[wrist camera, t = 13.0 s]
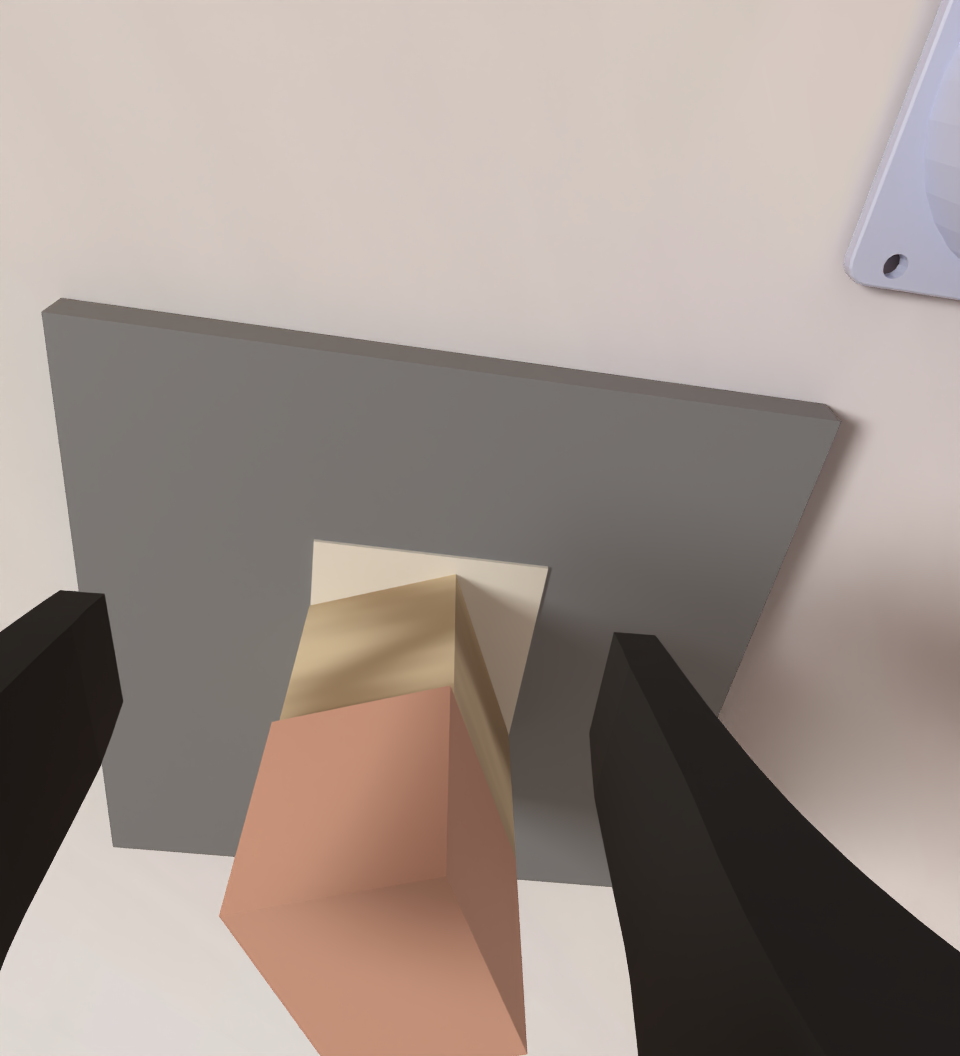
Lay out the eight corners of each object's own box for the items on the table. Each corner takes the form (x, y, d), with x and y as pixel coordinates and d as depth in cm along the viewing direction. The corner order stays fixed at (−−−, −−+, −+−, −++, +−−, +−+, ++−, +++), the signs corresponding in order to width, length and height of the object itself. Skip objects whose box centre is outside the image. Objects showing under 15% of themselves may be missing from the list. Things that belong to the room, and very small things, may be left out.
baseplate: (825, 404, 20) (842, 423, 19) (640, 864, 30) (645, 892, 29) (61, 298, 18) (39, 313, 18) (123, 821, 28) (111, 849, 27)
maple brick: (455, 574, 21) (453, 697, 17) (508, 734, 24) (516, 868, 21) (309, 605, 22) (276, 732, 18) (379, 758, 25) (363, 893, 21)
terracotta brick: (450, 685, 17) (445, 876, 13) (515, 859, 20) (527, 1054, 17) (271, 721, 18) (219, 916, 14) (362, 886, 21) (339, 1081, 17)
